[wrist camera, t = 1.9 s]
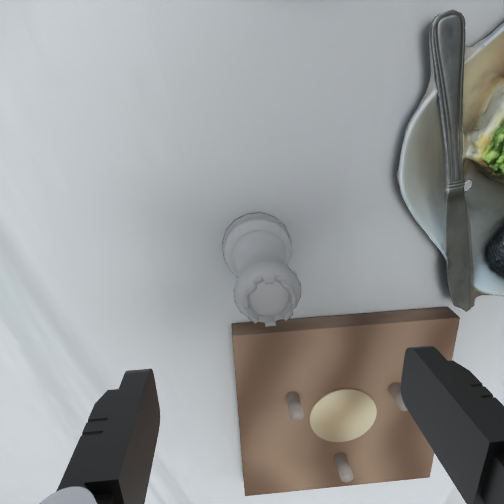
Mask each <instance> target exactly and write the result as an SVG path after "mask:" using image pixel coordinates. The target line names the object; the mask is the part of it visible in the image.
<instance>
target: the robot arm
mask: <svg viewBox="0 0 504 504" xmlns="http://www.w3.org/2000/svg"><path fill="white" fill-rule="evenodd" d="M400 389H401V396H402V400H403V402H404V405H405V407H406V408H407V410H408V411H409V413H410V415H411V416H412V418H413V419H414V421H415V423H416V424H417V426H418V427H419V429H420V430H421V432H422V434H423V435H424V437H425V438H426V440H427V442H428V443H429V445H430V446H431V448H432V449H433V451H434V453H435V454H436V456H437V457H438V459H439V461H440V462H441V464H442V465H443V467H444V468H445V470H446V472H447V473H448V475H449V476H450V478H451V480H452V481H453V483H454V484H455V486H456V487H457V489H458V491H459V492H460V494H461V495H462V497H463V499H464V500H465V502H466V503H467V504H504V406H503V405H502V404H501V403H500V402H499V401H498V400H497V399H496V398H494V397H493V395H492V394H491V392H490V391H489V390H488V389H487V388H486V387H483V386H482V383H481V382H480V381H479V380H478V379H477V378H476V377H475V376H474V375H473V374H472V373H471V372H470V371H469V370H467V369H466V368H464V367H462V366H461V365H459V364H457V363H456V362H454V361H447V360H446V358H445V357H444V356H443V355H442V354H441V353H440V352H439V351H438V350H437V349H436V348H435V347H434V346H420V347H409V348H407V349H406V351H405V356H404V363H403V371H402V378H401V386H400ZM159 425H160V408H159V402H158V396H157V390H156V385H155V379H154V374H153V370H152V369H143V370H131V371H126V372H125V374H124V377H123V379H122V382H121V385H120V387H119V389H116V390H108V391H107V392H106V393H105V394H104V395H103V396H102V397H101V398H100V399H99V400H98V401H97V402H96V403H95V405H94V407H93V410H92V412H91V414H90V416H89V419H88V423H86V426H85V428H84V430H83V432H82V436H81V437H80V439H79V442H78V444H77V446H76V448H75V451H74V453H73V455H72V457H71V460H70V462H69V464H68V467H67V469H66V471H65V473H64V476H63V478H62V480H61V483H60V485H59V487H58V489H57V491H56V492H55V493H53V494H51V495H50V496H48V497H47V498H46V499H44V500H43V501H42V502H41V503H40V504H144V502H145V497H146V492H147V487H148V482H149V477H150V472H151V467H152V462H153V457H154V452H155V447H156V442H157V437H158V432H159Z"/></svg>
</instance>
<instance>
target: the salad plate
mask: <svg viewBox="0 0 504 504" xmlns="http://www.w3.org/2000/svg"><path fill="white" fill-rule="evenodd" d="M429 41H430V42H429V49H430V66H431V77H430V82H429V85H428V88H427V91H426V94H425V95H424V97H423V98H422V100H421V102H420V104H419V106H418V108H417V109H416V111H415V112H414V114H413V116H412V117H411V119H410V121H409V123H408V125H407V128H406V131H405V137H404V141H403V145H402V150H401V155H400V162H399V168H398V172H397V179H398V182H399V185H400V191H401V195H402V197H403V199H404V201H405V203H406V205H407V207H408V209H409V211H410V212H411V214H412V216H413V217H414V219H415V220H416V222H417V223H418V224H419V226H420V227H421V228H422V229H423V230H424V231H425V232H426V233H427V235H428V236H429V238H430V239H431V240H432V241H433V243H434V244H435V245H436V246H437V247H438V249H439V250H440V251H441V252H442V254H443V256H444V258H445V262H446V274H447V283H448V288H449V291H450V295H451V298H452V301H453V304H454V306H456V307H458V308H462V309H463V310H465V311H468V310H469V309H470V308H471V307H473V306H474V301H475V298H476V297H477V296H480V295H497V296H504V22H503V23H502V24H501V25H500V26H498V27H497V28H496V29H495V30H494V31H493V32H492V33H491V34H490V35H488V36H487V37H486V38H484V39H482V40H481V41H479V42H478V43H476V44H475V45H473V46H471V47H466V44H465V19H464V16H463V15H462V13H460V12H457V11H455V10H449V11H446V12H443V13H441V14H439V15H437V16H436V17H435V18H434V20H433V22H432V24H431V26H430V32H429ZM466 180H471V181H472V186H471V188H470V189H469V190H468V191H465V192H464V183H465V181H466Z"/></svg>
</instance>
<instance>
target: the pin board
mask: <svg viewBox="0 0 504 504" xmlns="http://www.w3.org/2000/svg"><path fill="white" fill-rule="evenodd" d="M459 320H460V317H459V316H457V315H456V314H455V313H454V312H453V311H452V310H451V309H449V308H448V307H440V308H427V309H414V310H401V311H389V312H376V313H363V314H351V315H338V316H325V317H313V318H300V319H288V320H287V321H285V320H277V321H275V323H276V326H268V327H266V326H265V322H257V323H256V324H255V323H254V322H249V323H236V324H232V338H233V351H234V363H235V376H236V388H237V401H238V413H239V426H240V438H241V451H242V463H243V476H244V488H245V496H250V495H260V494H270V493H280V492H290V491H299V490H309V489H319V488H329V487H339V486H349V485H359V484H368V483H378V482H388V481H398V480H408V479H418V478H428V477H430V472H431V467H432V462H433V456H434V451H433V449H432V448H431V446H430V445H429V443H428V442H427V440H426V438H425V437H424V435H423V434H422V432H421V430H420V429H419V427H418V426H417V424H416V423H415V421H414V419H413V418H412V416H411V415H410V413H409V411H408V410H407V408H406V407H405V405H404V402H403V400H402V396H401V389H400V386H401V378H402V371H403V363H404V356H405V351H406V349H407V348H409V347H420V346H434V347H435V348H436V349H437V350H438V351H439V352H440V353H441V354H442V355H443V356H444V357H445V358H446V360H447V361H452V356H453V351H454V346H455V341H456V335H457V330H458V325H459Z"/></svg>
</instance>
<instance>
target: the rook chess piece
mask: <svg viewBox="0 0 504 504" xmlns="http://www.w3.org/2000/svg"><path fill="white" fill-rule="evenodd" d="M222 245H223V255H224V260H225V262H226V264H227V265H228V267H229V269H230V271H231V272H232V273H234V274H235V275H236V276H237V282H236V285H235V287H234V301H235V303H236V305H237V307H238V308H239V310H240V312H241V313H243V314H244V315H245V316H247V317H248V319H250V320H251V321H252V322H254V323H255V324H256V323H257V322H258V321H259V322H265V326H266V327H268V326H276V323H275V321H277V320H279V319H282V318H283V319H284V320H285V321H287V320H288V319H289V318H290V317H291V316H292V315H293V313H292V311H293V310H294V309H295V308H296V306H297V304H298V302H299V299H300V297H301V284H300V281H299V279H298V277H297V275H296V273H295V272H293V271H292V270H291V269H290V268H288V266H287V264H288V262H289V260H290V257H291V241H290V237H289V234H288V232H287V230H286V228H285V226H284V225H283V224H282V223H281V222H280V221H278V220H277V219H276V218H275V217H273V216H269V215H266V214H263V213H254V214H247V215H245V216H243V217H241V218H239V219H236V220H235V221H234V222H233V223H232V224H231V225H230V227H229V228H228V229H227V230H226V233H225V236H224V239H223V242H222Z"/></svg>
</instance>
